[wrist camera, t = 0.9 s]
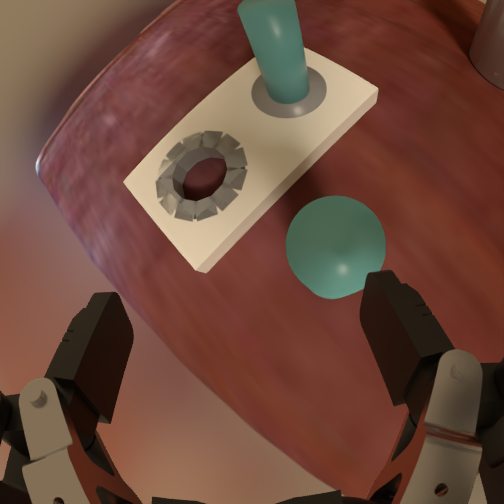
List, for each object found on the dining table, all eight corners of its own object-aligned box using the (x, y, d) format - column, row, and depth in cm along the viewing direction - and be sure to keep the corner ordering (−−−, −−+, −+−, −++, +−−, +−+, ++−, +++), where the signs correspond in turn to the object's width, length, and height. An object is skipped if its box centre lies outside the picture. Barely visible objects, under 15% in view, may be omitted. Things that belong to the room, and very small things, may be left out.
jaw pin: (313, 244, 27) (298, 187, 13) (360, 255, 26) (393, 207, 12) (300, 292, 26) (274, 282, 13) (349, 304, 25) (373, 306, 12)
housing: (135, 189, 33) (122, 181, 30) (285, 50, 32) (281, 36, 29) (206, 273, 29) (194, 270, 26) (376, 102, 28) (378, 87, 25)
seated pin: (277, 87, 31) (246, -7, 17) (314, 90, 30) (299, -9, 16) (267, 116, 30) (230, 20, 17) (308, 120, 29) (288, 18, 16)
